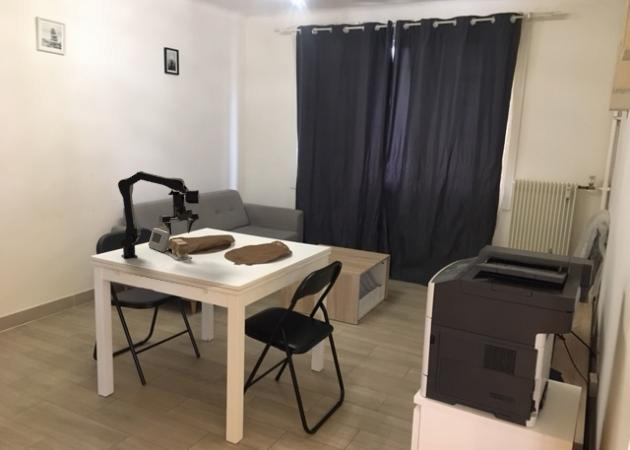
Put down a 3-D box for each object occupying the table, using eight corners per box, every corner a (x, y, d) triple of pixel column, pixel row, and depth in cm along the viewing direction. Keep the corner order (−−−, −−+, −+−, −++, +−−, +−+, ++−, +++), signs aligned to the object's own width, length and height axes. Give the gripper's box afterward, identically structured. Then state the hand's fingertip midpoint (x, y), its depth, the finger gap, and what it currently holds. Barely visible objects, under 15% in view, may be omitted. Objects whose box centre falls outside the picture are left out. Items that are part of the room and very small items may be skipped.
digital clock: (147, 247, 276) (146, 228, 274) (163, 245, 281) (163, 226, 279) (156, 253, 263) (155, 233, 261) (173, 251, 268) (172, 232, 266)
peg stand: (168, 254, 261) (168, 249, 261) (183, 253, 266) (183, 247, 265) (176, 260, 251) (176, 254, 251) (191, 258, 256) (191, 252, 255)
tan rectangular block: (171, 248, 261) (171, 239, 260) (180, 247, 264) (179, 238, 263) (179, 254, 252) (179, 244, 251) (188, 253, 254) (187, 243, 253)
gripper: (165, 207, 241) (166, 239, 244) (202, 204, 252) (203, 235, 255) (158, 204, 250) (159, 234, 253) (194, 201, 261) (195, 231, 264)
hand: (179, 234), depth 256 cm, fingers open, 9 cm apart
